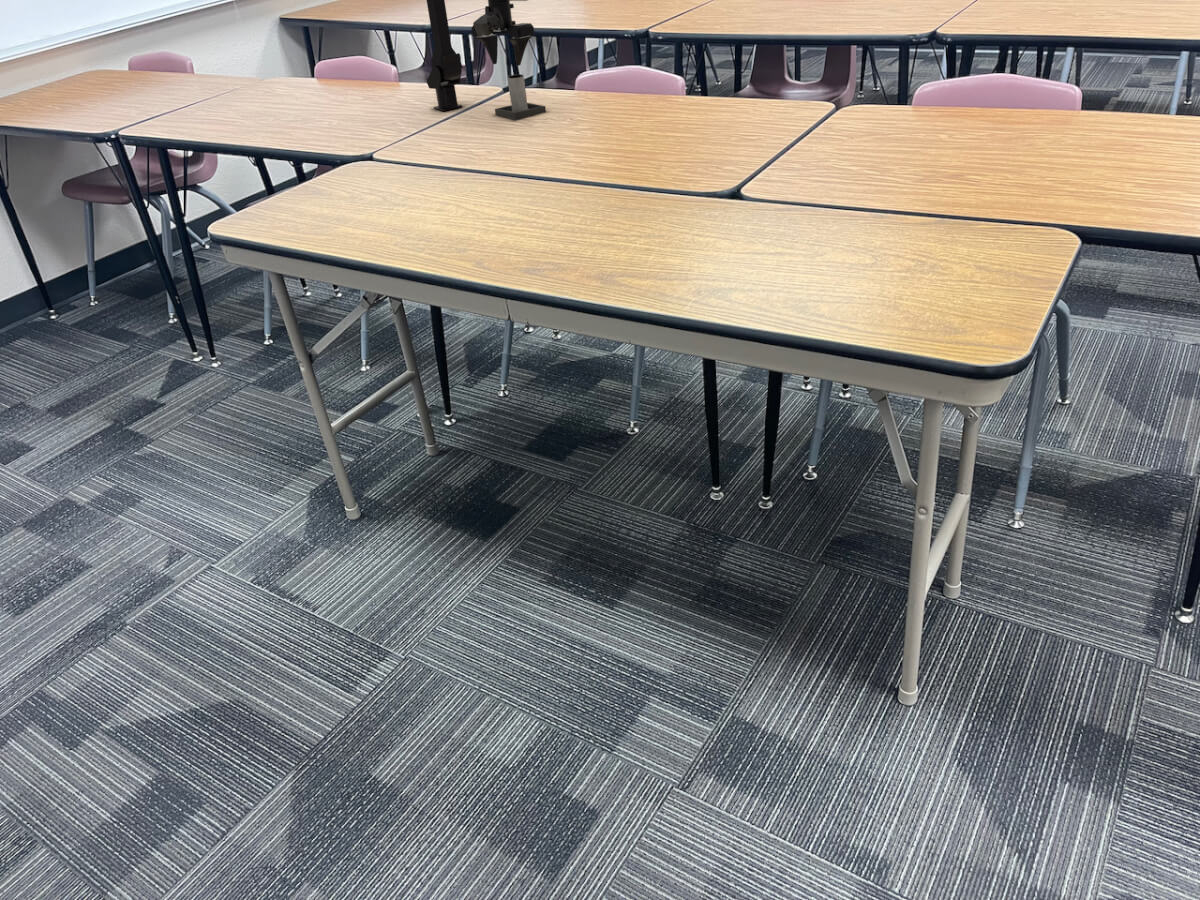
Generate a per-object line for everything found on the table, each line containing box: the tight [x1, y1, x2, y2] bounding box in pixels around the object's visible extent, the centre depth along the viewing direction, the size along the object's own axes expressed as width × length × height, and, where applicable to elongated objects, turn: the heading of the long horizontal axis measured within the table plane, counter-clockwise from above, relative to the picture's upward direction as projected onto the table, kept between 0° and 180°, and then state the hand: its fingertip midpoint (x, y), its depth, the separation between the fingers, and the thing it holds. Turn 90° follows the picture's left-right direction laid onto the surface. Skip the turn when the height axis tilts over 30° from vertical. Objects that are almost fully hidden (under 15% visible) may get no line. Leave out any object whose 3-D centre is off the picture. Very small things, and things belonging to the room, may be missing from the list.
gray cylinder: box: [507, 73, 528, 112], centre depth 239 cm, size 4×4×10 cm
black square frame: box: [494, 102, 547, 121], centre depth 241 cm, size 10×10×2 cm
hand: (506, 64), depth 232 cm, fingers open, 9 cm apart
